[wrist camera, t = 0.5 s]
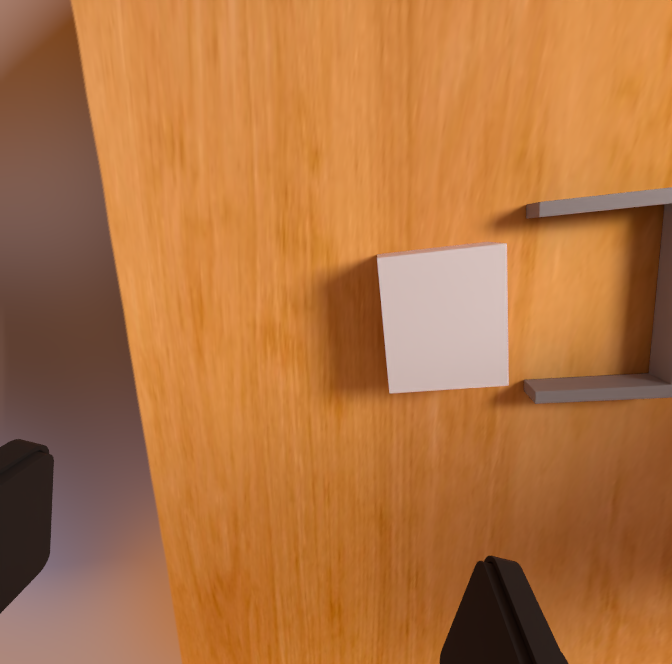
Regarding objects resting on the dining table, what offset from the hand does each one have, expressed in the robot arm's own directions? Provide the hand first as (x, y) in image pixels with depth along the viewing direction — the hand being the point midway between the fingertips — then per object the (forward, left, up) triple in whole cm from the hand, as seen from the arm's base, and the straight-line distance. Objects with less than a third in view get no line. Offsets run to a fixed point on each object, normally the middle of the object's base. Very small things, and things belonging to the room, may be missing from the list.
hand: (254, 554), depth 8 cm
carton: (-7, 0, -25) cm, 26 cm away
